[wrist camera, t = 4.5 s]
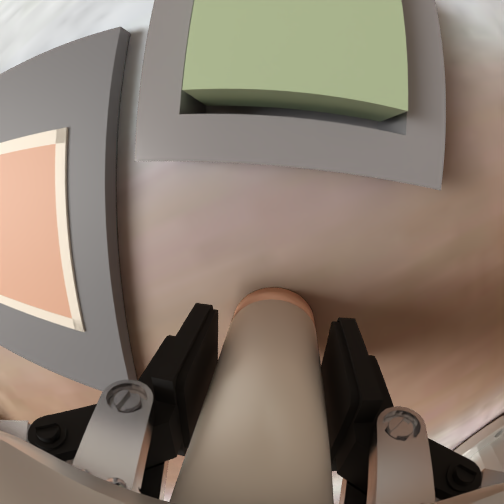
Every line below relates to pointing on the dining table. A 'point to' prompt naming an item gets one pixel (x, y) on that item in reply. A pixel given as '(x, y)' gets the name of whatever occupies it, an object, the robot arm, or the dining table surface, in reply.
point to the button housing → (294, 113)
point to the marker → (262, 412)
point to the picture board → (63, 211)
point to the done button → (299, 56)
